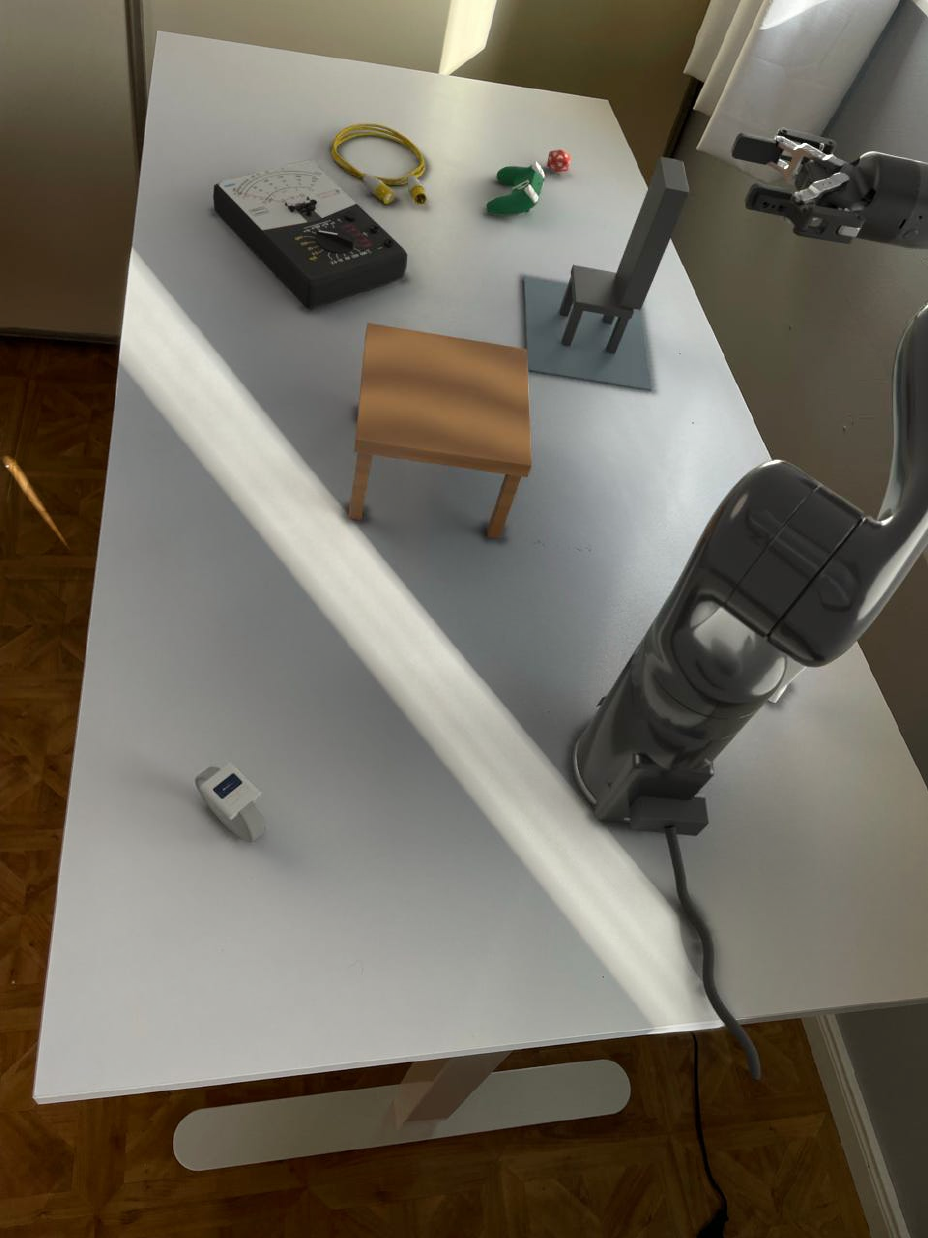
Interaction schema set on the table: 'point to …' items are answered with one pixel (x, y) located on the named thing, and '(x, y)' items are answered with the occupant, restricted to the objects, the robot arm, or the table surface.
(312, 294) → the multimeter
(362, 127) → the extension cord
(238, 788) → the wristwatch
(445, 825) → the table surface
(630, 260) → the chair
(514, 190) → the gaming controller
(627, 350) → the mat
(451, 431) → the side table
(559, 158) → the die
